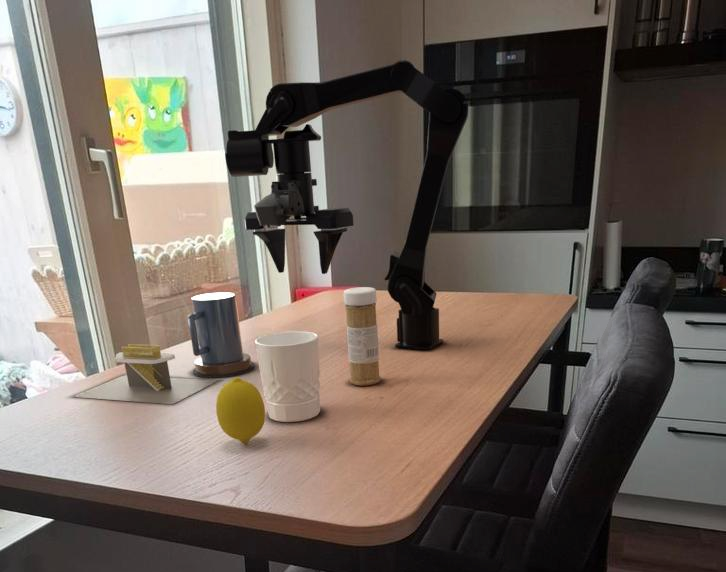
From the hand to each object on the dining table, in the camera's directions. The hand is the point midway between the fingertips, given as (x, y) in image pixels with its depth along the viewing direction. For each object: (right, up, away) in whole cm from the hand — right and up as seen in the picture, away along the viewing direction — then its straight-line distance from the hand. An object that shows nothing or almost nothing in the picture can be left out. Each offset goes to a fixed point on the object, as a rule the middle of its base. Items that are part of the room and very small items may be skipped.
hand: (302, 273), depth 120 cm
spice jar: (+11, -21, -17) cm, 29 cm away
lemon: (-4, -31, -37) cm, 49 cm away
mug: (-12, -17, -5) cm, 22 cm away
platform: (-23, -22, -13) cm, 34 cm away
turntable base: (-12, -17, -5) cm, 22 cm away
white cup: (+1, -27, -28) cm, 39 cm away
